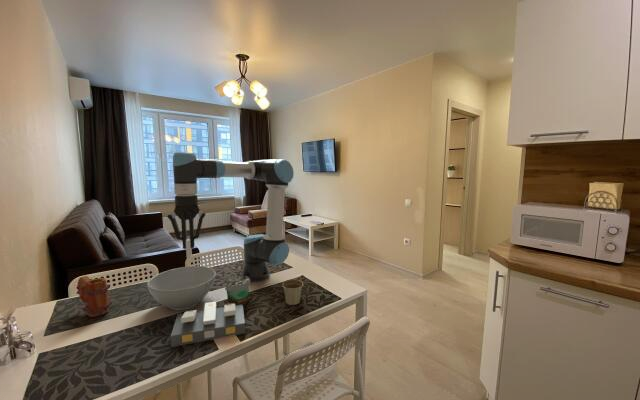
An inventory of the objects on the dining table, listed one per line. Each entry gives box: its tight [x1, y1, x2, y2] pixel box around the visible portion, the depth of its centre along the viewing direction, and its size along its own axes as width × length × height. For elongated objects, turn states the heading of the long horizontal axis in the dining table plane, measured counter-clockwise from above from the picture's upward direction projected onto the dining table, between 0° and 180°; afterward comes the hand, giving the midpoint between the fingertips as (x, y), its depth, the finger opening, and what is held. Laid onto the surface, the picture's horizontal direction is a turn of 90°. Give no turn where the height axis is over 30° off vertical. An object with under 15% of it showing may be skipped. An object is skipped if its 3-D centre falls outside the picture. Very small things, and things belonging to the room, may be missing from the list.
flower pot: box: [281, 278, 304, 306], centre depth 120 cm, size 9×9×9 cm
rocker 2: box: [203, 301, 217, 325], centre depth 99 cm, size 10×4×2 cm, turn 19°
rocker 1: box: [181, 309, 198, 323], centre depth 97 cm, size 10×4×2 cm, turn 19°
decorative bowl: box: [146, 265, 217, 311], centre depth 118 cm, size 27×27×12 cm
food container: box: [224, 276, 251, 306], centre depth 118 cm, size 12×6×10 cm, turn 148°
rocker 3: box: [224, 304, 236, 316], centre depth 102 cm, size 10×4×2 cm, turn 19°
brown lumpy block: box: [76, 275, 113, 318], centre depth 109 cm, size 15×8×15 cm, turn 71°
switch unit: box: [170, 304, 246, 348], centre depth 100 cm, size 14×24×5 cm, turn 109°
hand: (189, 256), depth 101 cm, fingers closed
